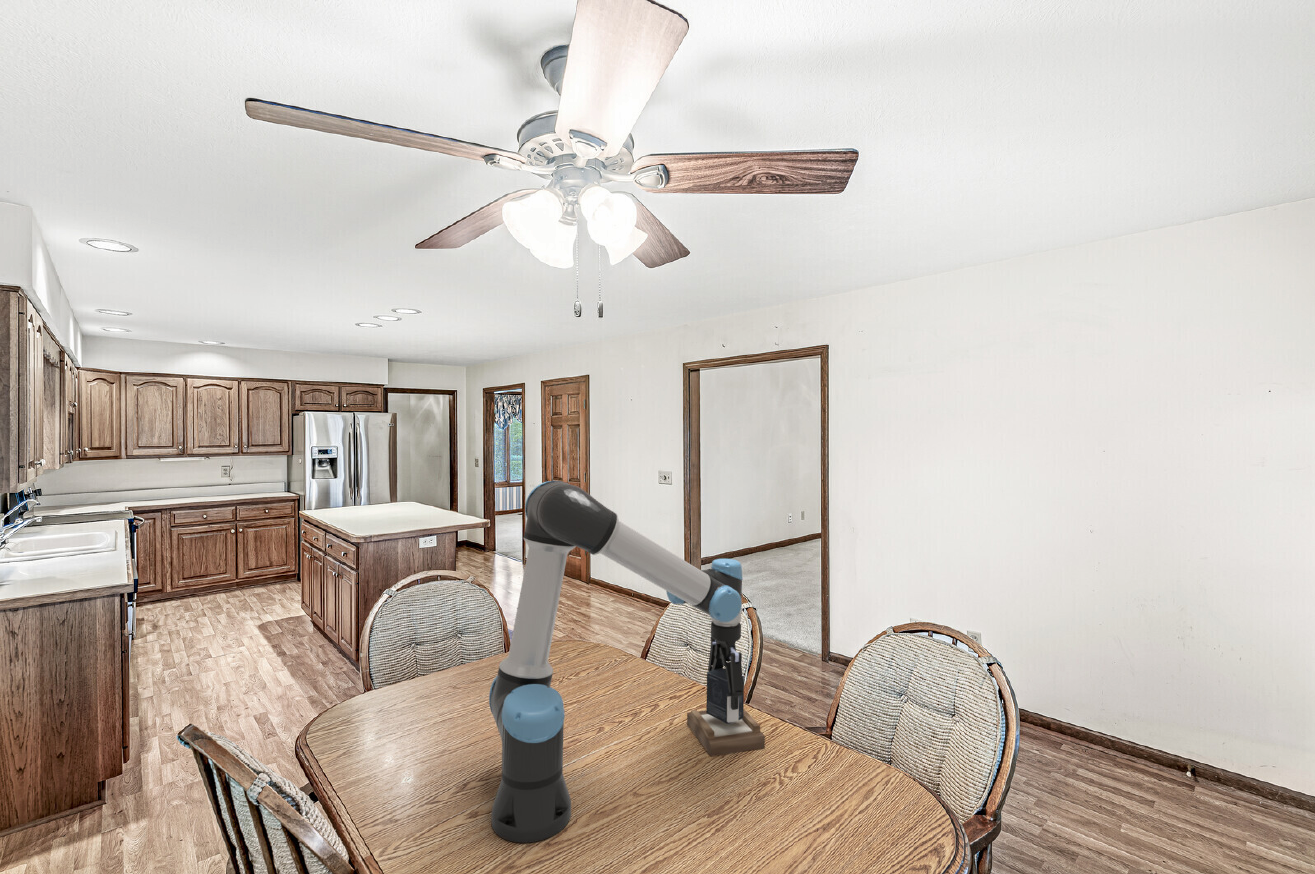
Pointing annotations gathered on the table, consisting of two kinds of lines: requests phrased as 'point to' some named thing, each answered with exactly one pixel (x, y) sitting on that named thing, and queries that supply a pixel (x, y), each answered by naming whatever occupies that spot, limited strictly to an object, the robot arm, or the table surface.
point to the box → (720, 695)
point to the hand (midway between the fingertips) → (724, 711)
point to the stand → (725, 733)
